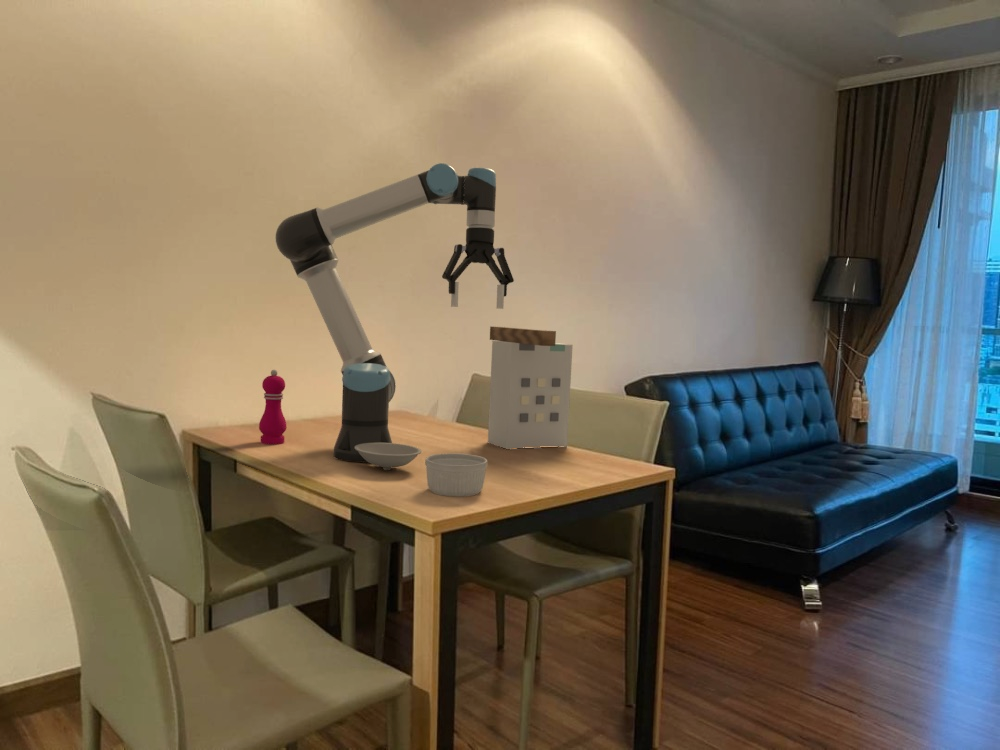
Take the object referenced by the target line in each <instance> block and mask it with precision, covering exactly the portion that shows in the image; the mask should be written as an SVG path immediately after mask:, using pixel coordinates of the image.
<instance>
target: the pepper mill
mask: <svg viewBox="0 0 1000 750" xmlns="http://www.w3.org/2000/svg"><path fill="white" fill-rule="evenodd" d="M261 384H262V385H261V386H262V389H263V390H264V393H263V396H264V397H263V399H265V406H264V411H263V413H262V416H261V418H260V421H259V424H258V429H259V431H260V433H261V434H262V435H260V443H261V444H263V445H282V444H284V443H285V435H283V434H284V433H285V431H286V430H287V421H286V418H285V415H284V414H283V411H282V400H283V399H284V396H283V395H284V393H283V391H284V390H285V388H286V382H285V379H284V378H283V377H282V376H280V375H278V370H276V369H272V370H271V371H270V375H268V376H266V377H265V378H264V379H263V380H262V383H261Z"/></svg>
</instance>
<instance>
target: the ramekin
mask: <svg viewBox="0 0 1000 750" xmlns="http://www.w3.org/2000/svg"><path fill="white" fill-rule="evenodd" d="M424 465H425V467H426V482H427V486H428V489H429V490H430V492H432V493H434V494H436V495H438V496H439V495H440V496H443V497H444V496H447V497H459V498H460V497H472V496H475V495H478V494H479V493H480V492H481V491H482V489H483V487H484V483H485V478H486V469H487V467H488V459H486V458H485V457H483V456H480V455H476V454H475V455H474V454H469V453H459V452H458V453H457V452H456V453H455V452H454V453H453V452H451V453H448V452H447V453H436V454H431V455H428V456H426V457H425V462H424Z"/></svg>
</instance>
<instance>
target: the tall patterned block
mask: <svg viewBox="0 0 1000 750" xmlns="http://www.w3.org/2000/svg"><path fill="white" fill-rule="evenodd" d="M491 343H492V344H491V365H490V367H491V368H490V370H491V371H490V384H489V385H490V388H489V390H490V391H489V410H488V411H489V412H488V427H487V431H488V432H487V443H488V442H489V443H488V444H490V443H491V444H490V445H493V444H494V445H493V446H496V445H497V446H496V447H498V446H500V447H499V448H501V447H503V448H506V449H510V448H523V447H524V448H525V447H540V446H564V447H563V448H567V447H568V436H569V435H568V434H569V417H570V400H571V399H570V398H571V382H572V381H571V380H572V377H571V376H572V363H573V344H567V343H559V342H555V346H540V345H531V344H523V343H514V342H505V341H497V340H491ZM503 448H502V449H503ZM506 449H505V450H506ZM510 450H511V449H510Z"/></svg>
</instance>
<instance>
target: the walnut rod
mask: <svg viewBox="0 0 1000 750" xmlns="http://www.w3.org/2000/svg"><path fill="white" fill-rule="evenodd" d="M556 336H557V331H556V330H547V329H545V330H543V329H534V328H520V327H519V328H518V327H510V326H509V327H506V326H489V340H491V341H505V342H514V343H523V344H531V345H540V346H555V343H556Z"/></svg>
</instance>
